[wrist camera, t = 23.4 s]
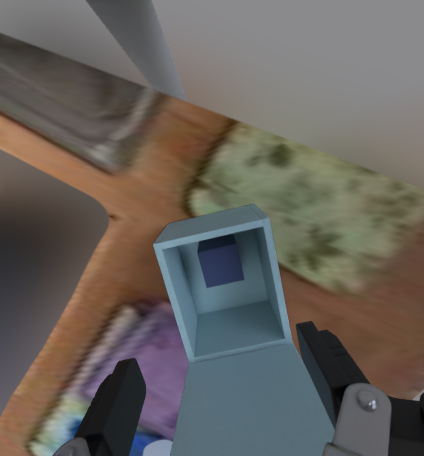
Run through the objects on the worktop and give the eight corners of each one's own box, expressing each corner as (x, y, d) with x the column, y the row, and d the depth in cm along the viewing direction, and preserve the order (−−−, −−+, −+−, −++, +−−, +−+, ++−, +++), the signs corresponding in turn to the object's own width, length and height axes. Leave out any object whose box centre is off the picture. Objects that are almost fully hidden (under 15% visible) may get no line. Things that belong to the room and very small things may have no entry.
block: (198, 240, 37) (197, 252, 32) (233, 232, 36) (236, 243, 31) (207, 272, 38) (206, 288, 33) (240, 265, 37) (244, 280, 33)
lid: (150, 545, 14) (172, 624, 14) (381, 507, 13) (398, 590, 14) (188, 364, 30) (198, 403, 31) (293, 342, 30) (301, 382, 30)
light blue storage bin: (167, 223, 37) (152, 244, 27) (253, 203, 36) (269, 217, 27) (194, 317, 40) (189, 364, 31) (273, 300, 40) (292, 343, 30)
